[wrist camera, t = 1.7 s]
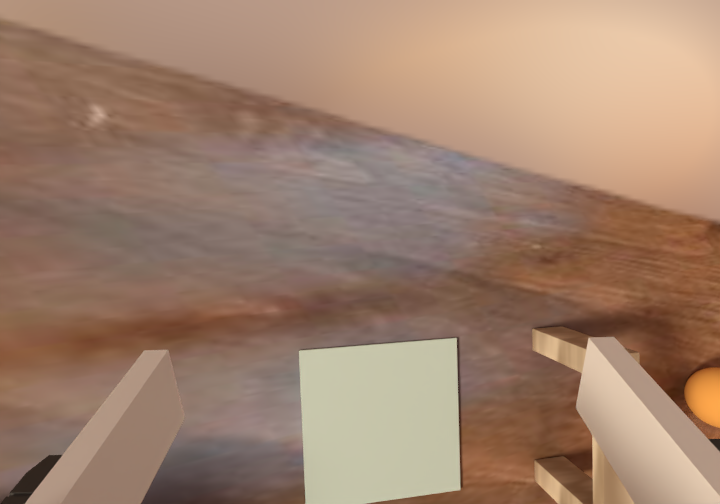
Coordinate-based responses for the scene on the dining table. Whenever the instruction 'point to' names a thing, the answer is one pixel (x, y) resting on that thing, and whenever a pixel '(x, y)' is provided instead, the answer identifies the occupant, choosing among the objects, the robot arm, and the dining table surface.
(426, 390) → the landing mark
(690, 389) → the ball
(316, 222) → the dining table surface
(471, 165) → the dining table surface
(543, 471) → the bridge
